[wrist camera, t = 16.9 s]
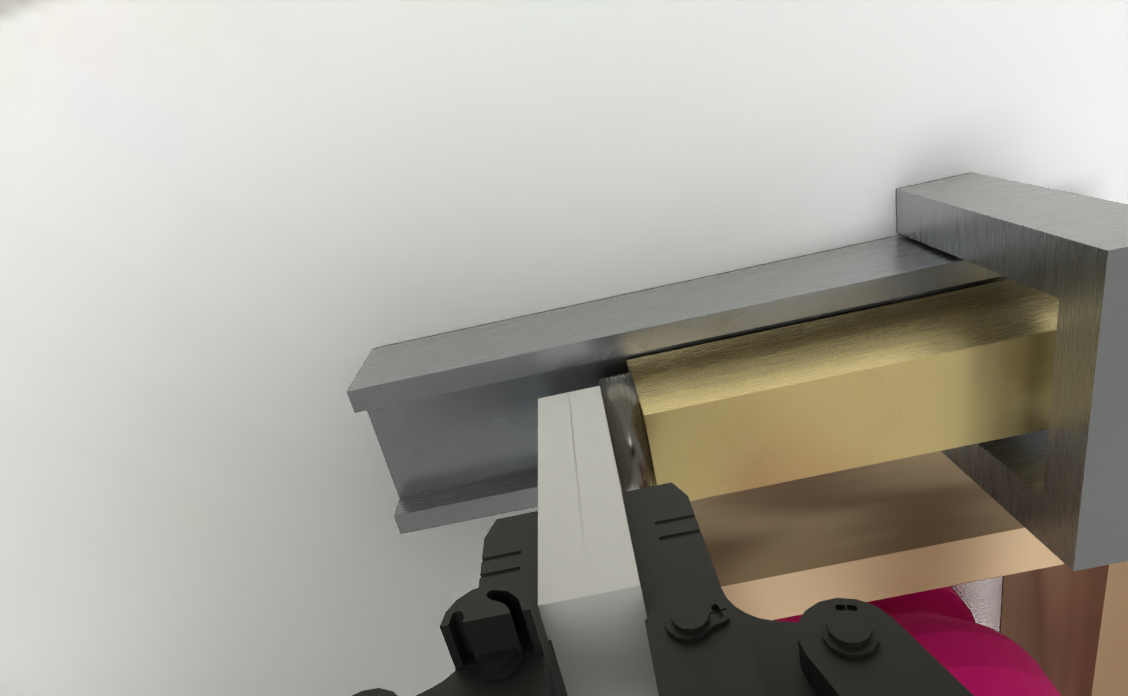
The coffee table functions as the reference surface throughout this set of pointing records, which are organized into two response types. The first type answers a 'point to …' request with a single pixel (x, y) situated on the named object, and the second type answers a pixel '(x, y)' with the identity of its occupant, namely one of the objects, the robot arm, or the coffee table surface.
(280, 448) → the coffee table surface
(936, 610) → the pepper mill
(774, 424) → the pin
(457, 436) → the rail
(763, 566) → the cradle
